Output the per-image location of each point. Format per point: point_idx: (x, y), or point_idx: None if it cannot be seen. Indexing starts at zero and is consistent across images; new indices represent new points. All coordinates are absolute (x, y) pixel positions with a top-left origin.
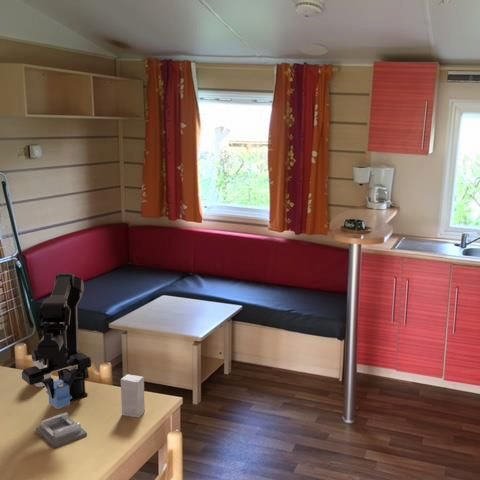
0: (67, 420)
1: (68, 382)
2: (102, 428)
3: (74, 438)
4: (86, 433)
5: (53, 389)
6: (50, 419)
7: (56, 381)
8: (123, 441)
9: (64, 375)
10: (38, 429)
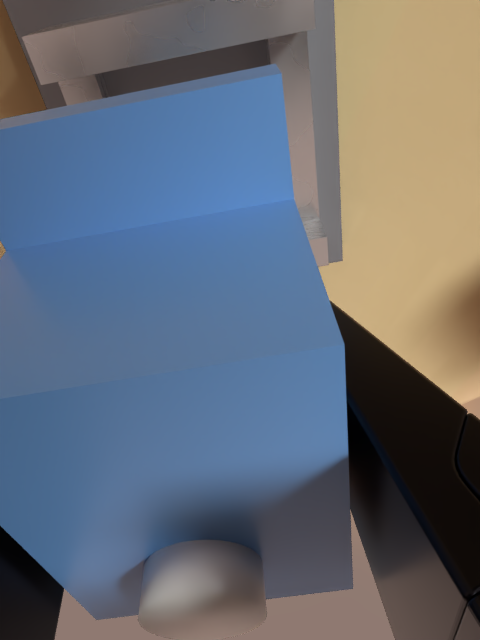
0: (283, 67)
1: (384, 596)
2: (456, 218)
3: None
4: (337, 258)
5: (56, 596)
6: (120, 60)
7: (168, 405)
8: (450, 374)
9: (462, 634)
10: (19, 21)
